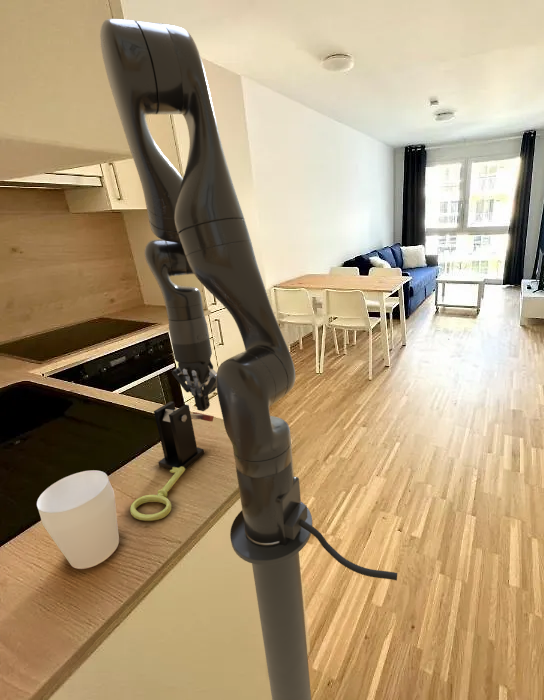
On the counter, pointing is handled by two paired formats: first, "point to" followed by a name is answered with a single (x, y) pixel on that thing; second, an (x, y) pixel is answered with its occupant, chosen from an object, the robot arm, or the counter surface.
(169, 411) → the lever
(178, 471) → the key
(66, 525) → the cup
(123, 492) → the counter surface
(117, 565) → the counter surface
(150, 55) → the robot arm
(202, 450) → the bracket
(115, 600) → the counter surface
